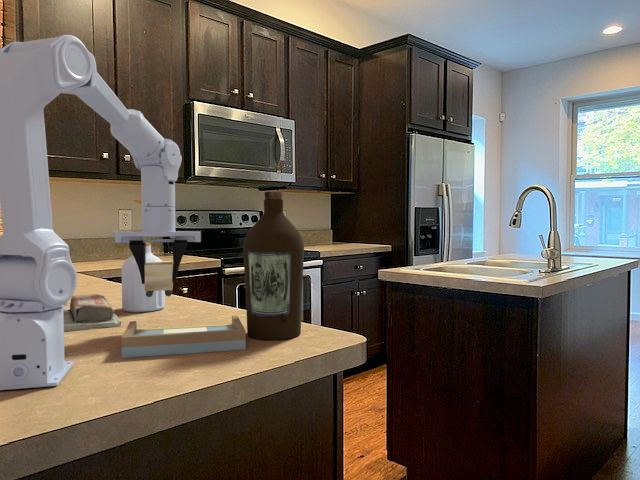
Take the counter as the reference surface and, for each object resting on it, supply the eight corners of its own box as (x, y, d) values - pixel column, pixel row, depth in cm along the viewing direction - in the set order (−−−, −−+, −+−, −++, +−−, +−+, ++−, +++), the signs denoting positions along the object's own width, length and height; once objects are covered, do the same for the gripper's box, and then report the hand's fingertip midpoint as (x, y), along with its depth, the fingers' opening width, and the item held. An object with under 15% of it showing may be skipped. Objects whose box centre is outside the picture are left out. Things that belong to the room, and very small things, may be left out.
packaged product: (60, 294, 105) (110, 291, 110) (60, 317, 105) (111, 313, 110) (62, 307, 89) (121, 303, 94) (62, 334, 90) (121, 328, 94)
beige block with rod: (172, 296, 87) (171, 264, 87) (145, 298, 86) (144, 264, 85) (173, 290, 94) (172, 260, 94) (148, 291, 93) (147, 261, 93)
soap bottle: (121, 307, 114) (119, 200, 113) (162, 304, 118) (160, 200, 117) (123, 314, 106) (121, 198, 105) (167, 310, 110) (166, 199, 109)
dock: (245, 349, 77) (245, 330, 77) (121, 357, 73) (121, 337, 73) (237, 332, 89) (237, 315, 89) (130, 338, 84) (130, 321, 84)
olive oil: (251, 327, 94) (250, 193, 92) (307, 328, 92) (307, 193, 91) (236, 340, 83) (235, 190, 82) (299, 342, 82) (299, 190, 81)
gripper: (199, 207, 95) (200, 278, 95) (117, 207, 91) (118, 281, 91) (200, 206, 88) (201, 283, 88) (112, 206, 84) (113, 286, 84)
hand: (159, 282), depth 89 cm, fingers closed on beige block with rod, 4 cm apart
